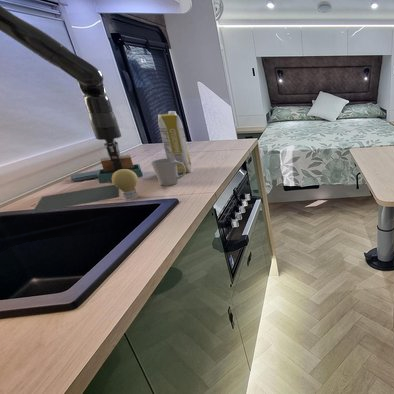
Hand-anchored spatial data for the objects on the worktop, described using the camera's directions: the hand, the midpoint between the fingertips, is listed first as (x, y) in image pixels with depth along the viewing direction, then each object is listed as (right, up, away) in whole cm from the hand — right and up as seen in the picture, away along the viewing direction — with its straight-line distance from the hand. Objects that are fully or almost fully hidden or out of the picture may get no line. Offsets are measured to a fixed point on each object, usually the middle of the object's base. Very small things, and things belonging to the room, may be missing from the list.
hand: (119, 169), depth 112 cm
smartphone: (-12, -2, +4) cm, 13 cm away
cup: (+24, -6, -5) cm, 25 cm away
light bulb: (+19, -12, -19) cm, 30 cm away
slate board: (+2, -11, -18) cm, 21 cm away
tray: (0, -3, +1) cm, 3 cm away
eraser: (0, 0, 0) cm, 0 cm away
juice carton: (+19, 0, +9) cm, 21 cm away
